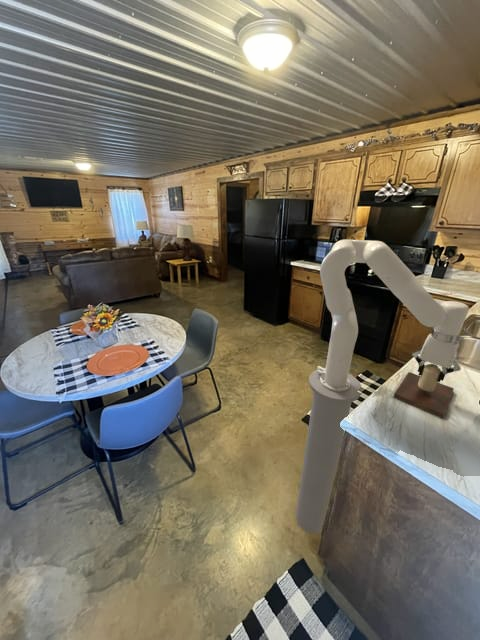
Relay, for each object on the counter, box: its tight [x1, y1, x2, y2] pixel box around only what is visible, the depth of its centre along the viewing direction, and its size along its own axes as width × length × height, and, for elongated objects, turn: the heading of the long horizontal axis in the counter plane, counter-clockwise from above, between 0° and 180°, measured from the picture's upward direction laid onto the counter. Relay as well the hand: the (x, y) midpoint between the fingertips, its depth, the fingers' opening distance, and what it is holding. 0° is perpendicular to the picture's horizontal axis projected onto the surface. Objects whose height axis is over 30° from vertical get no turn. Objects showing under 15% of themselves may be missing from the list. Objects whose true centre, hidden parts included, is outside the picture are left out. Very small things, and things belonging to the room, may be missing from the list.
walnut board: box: [393, 371, 454, 419], centre depth 104 cm, size 16×20×2 cm
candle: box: [418, 363, 442, 392], centre depth 100 cm, size 6×6×10 cm
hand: (429, 376), depth 101 cm, fingers closed on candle, 5 cm apart
